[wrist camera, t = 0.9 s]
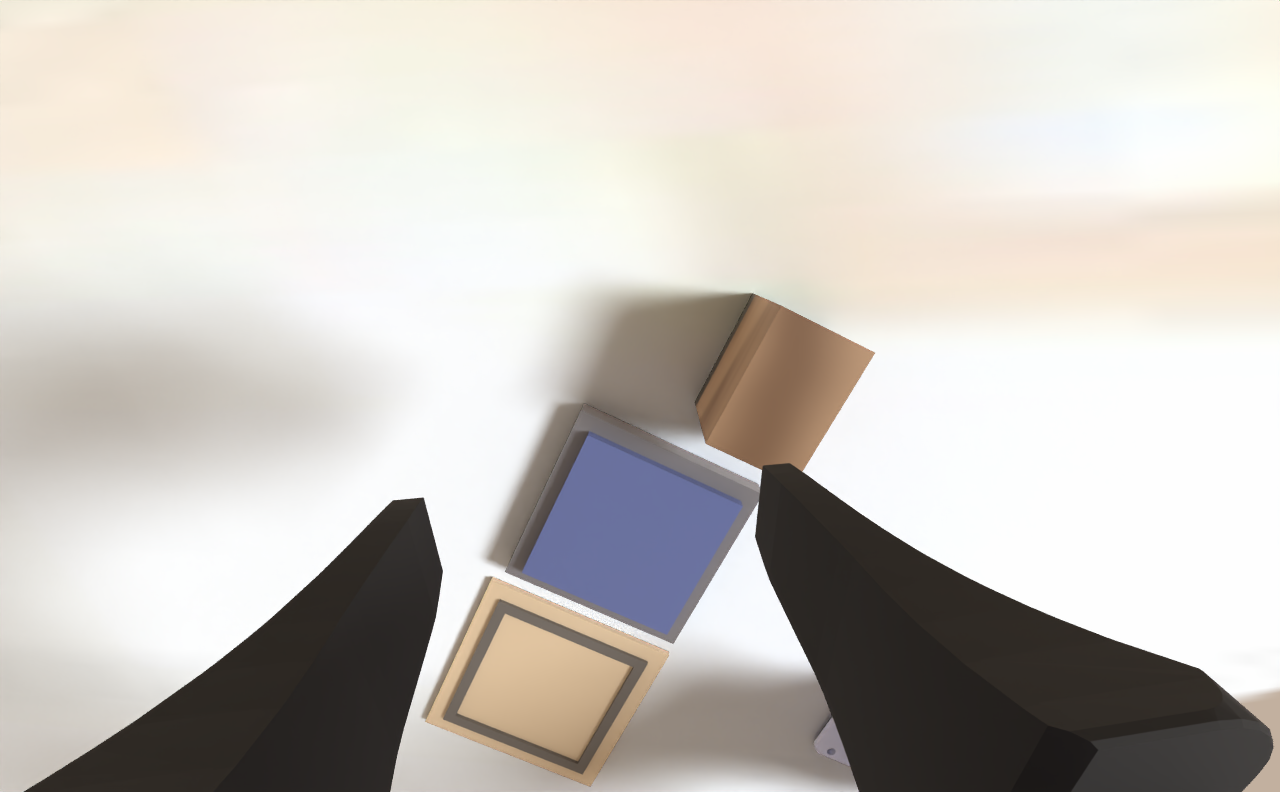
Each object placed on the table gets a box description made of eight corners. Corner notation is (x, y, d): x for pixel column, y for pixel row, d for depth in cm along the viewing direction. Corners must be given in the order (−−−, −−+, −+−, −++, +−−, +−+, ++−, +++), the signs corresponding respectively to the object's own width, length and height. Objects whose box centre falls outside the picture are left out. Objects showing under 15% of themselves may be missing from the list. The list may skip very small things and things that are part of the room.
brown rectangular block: (825, 329, 26) (875, 352, 20) (764, 435, 27) (794, 484, 21) (752, 293, 25) (781, 305, 19) (694, 401, 27) (705, 443, 21)
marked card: (668, 651, 31) (668, 658, 30) (590, 782, 33) (589, 789, 33) (492, 576, 30) (489, 582, 29) (427, 717, 32) (423, 724, 32)
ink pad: (758, 484, 28) (765, 499, 26) (672, 628, 30) (673, 651, 29) (584, 403, 27) (579, 413, 25) (510, 559, 29) (501, 578, 28)
